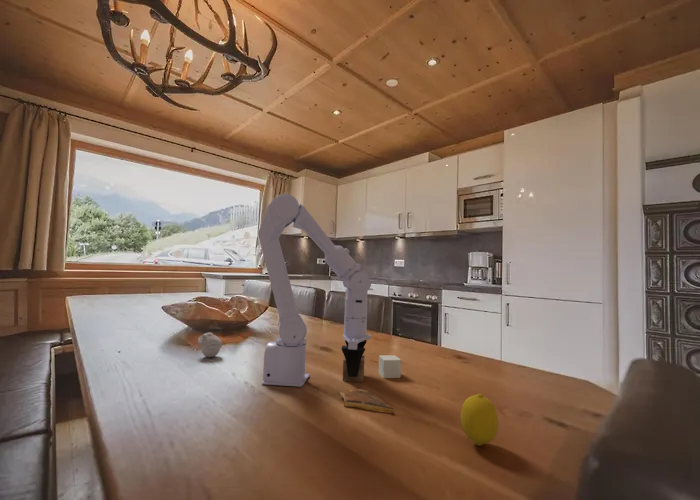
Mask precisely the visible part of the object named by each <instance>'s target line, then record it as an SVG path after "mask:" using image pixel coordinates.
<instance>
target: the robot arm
mask: <svg viewBox="0 0 700 500" xmlns="http://www.w3.org/2000/svg"><path fill="white" fill-rule="evenodd" d="M291 224H292V227H291V228H295V229H299V230H302V231H304V232H305V234H307V236H308V237H309V238H310V239H311V240H312V241H313V242H314V243H315V244H316V246H318V247H319V249H320V250H321V251H322V252H323V253H324V262H325V263H326V264H327V265H328V267H329V268H330V269H331V270H332V271H333V272H334V274H335V275H336V276H337V277H338V278H339V280H342V284H343V287H344V288H345V298H344V319H343V320H344V321H343V334H342V338H343V339H344V343H345V345H341V352H342V354H343V356H344V357H345V360H346V365H347V372H348V376H349V377H357V375H358V371H359V366H360V361H361V358H362V356H364V353H365V351H366V348H365V346H366V344H367V342H368V341H367V340H371V339H372V335H371V334H367V332H368V331H367V329H368V325H367V324H368V291H369V290H370V288H371V287H372V280H371V279H370V275H369V274H368V273H367V271H365V270H363V269H361V267H362V265H361V264H360V263H357V262H356V261H355V260H354V258H352V256H351V255H350V253H351V252H350V250H349V249H348V248H347V247H345V248H344V247H343V246H342V245H336V244H334V242H333V241H332V240H331V239H330V237H329V236H328V234H326V232H325V231H324V230H323V228H322V227H321V226H320V224H319V223H318V222H317V221H316V219H315V218H314V217H313V216H312V215H311V213H310V212H309V211H308V210H307V209H306V206H304V205H303V204H301V203H299V202H298V200H297V198H296V197H295V196H294V195H292V194H290V193H280V194H278V195H276V196H275V197H274V198H273V199H272V200H271V202H270V203H269V204H268V205H267V208H266V211H265V214H264V215H263V218H262V221H261V224H260V227H259V230H258V233H257V235H258V240H259V244H260V247H261V251H262V255H263V260H264V262H265V267H266V269H267V270H266V271H267V274H268V279H269V282H270V286H271V290H272V294H273V299H274V303H275V305H276V310H277V313H278V317H279V318H278V324H277V325H278V326H277V327H278V335H279V336H278V338H276V339H275V341H270V342H268V343H266V347H265V348H264V354H263V356H264V357H263V373H262V375H263V376H262V381H261V384H262V385H269V386H270V385H271V386H285V387H297V388H298V387H299V388H300V387H303V386H304V385H305V383H306V382H307V380H308V378H309V376H310V373H306V362H307V360H306V359H307V358H306V357H307V339H305V338H306V335H307V330H308V328H307V324H306V323H305V321H304V319H303V318H302V316H301V315H300V313H299V310H298V307H297V303H296V300H295V297H294V292H293V289H292V284H291V281H290V277H289V273H288V270H287V269H288V268H287V266H286V262H285V261H286V260H285V257H284V255H283V250H282V247H281V243H280V239H279V238H280V237H281V235H282V234H283V232H284V231H285V229H286V228H287V227H289V226H290V225H291Z"/></svg>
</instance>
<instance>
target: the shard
mask: <svg viewBox="0 0 700 500" xmlns="http://www.w3.org/2000/svg"><path fill="white" fill-rule="evenodd" d="M339 394H340V396H341V397H342V398H343V406H344V407H351V408H358V409H363V410H369V411H373V412H379V413H385V414H386V413H387V414H393V411H394V410H395V408H394V407H392V406H391V405H390V404H388V403H386V402H385V401H384V400H383V399H382V398H380V397H379V396H378V395H376V394H375V393H374V392H371V391H370V390H369V389H367V390H366V389H361V388H357V389H356V388H355V389H349V390H342V391H340V392H339Z"/></svg>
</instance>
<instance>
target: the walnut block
mask: <svg viewBox="0 0 700 500" xmlns="http://www.w3.org/2000/svg"><path fill="white" fill-rule="evenodd" d="M365 357H366V356H365V355H362V358H361V361H360V366H359V371H358V375H357V377H349V376H348V372H347V365H346V360H345V356H344V358H343V360H342V361H343V363H342V381H343V382H357V383H359V382H360V383H364V378H365Z"/></svg>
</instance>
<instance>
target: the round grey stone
mask: <svg viewBox="0 0 700 500" xmlns="http://www.w3.org/2000/svg"><path fill="white" fill-rule="evenodd" d="M197 343H198V347H200V349H201V354H202V355H203V356H204V357H206V358H215V356H217V355H218V354H219V352H220V350H221V349H222V346H223V340H221V338H220V337H218V336H217V335H216V334H214V333H213V332H205V333H204V334H202V335H200V336H199V337H198V339H197Z"/></svg>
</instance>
